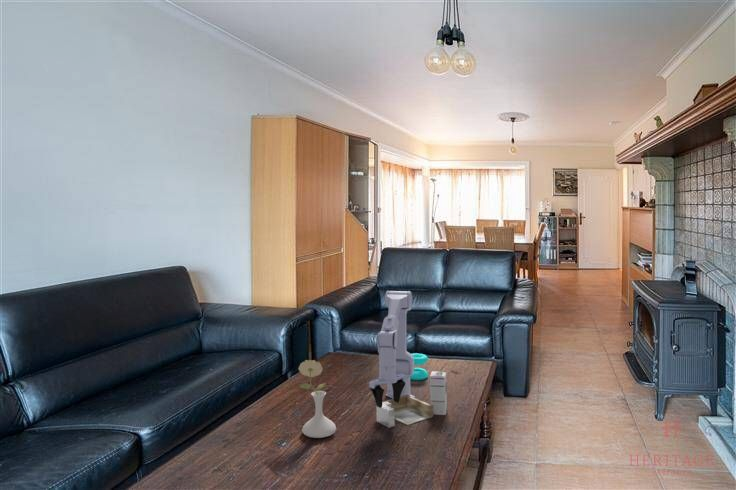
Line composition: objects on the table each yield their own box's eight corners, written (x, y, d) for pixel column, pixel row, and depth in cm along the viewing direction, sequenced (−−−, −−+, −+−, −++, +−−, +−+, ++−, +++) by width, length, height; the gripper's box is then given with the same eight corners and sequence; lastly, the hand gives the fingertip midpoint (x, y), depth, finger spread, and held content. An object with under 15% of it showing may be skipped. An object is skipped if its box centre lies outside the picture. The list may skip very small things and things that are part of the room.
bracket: (376, 421, 173) (376, 404, 173) (387, 417, 176) (387, 401, 176) (388, 427, 167) (388, 410, 167) (400, 424, 170) (399, 407, 170)
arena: (380, 413, 180) (380, 402, 180) (406, 404, 188) (406, 394, 188) (406, 426, 169) (406, 414, 169) (433, 416, 176) (433, 405, 176)
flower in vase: (341, 429, 167) (340, 357, 166) (328, 443, 156) (326, 366, 155) (307, 424, 171) (305, 354, 170) (291, 438, 160) (290, 363, 159)
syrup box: (446, 415, 177) (445, 376, 177) (429, 414, 179) (429, 375, 178) (447, 409, 183) (446, 371, 182) (431, 408, 184) (430, 370, 184)
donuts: (420, 359, 214) (401, 356, 220) (421, 382, 214) (401, 378, 220) (431, 354, 222) (412, 351, 228) (431, 376, 222) (413, 372, 228)
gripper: (378, 372, 161) (378, 412, 162) (410, 364, 170) (411, 402, 170) (365, 367, 167) (365, 406, 167) (397, 359, 175) (398, 397, 176)
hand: (387, 404), depth 169 cm, fingers open, 7 cm apart
